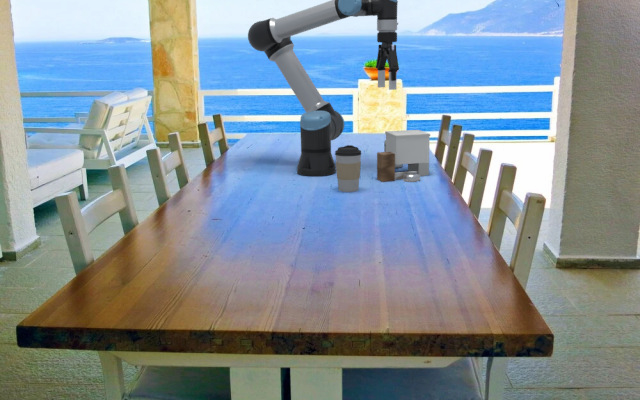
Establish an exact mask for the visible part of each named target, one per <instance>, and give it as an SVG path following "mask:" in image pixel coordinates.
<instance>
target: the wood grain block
mask: <svg viewBox="0 0 640 400" xmlns="http://www.w3.org/2000/svg"><path fill="white" fill-rule="evenodd" d="M404 173H417V171H410V172H409V171H401V172H400V171H398V172H396V168H395V154H394V153H392V152H384V151H383V152H382V151H381V152H380V151H379V152H376V180H378V181H379V182H381V183H386V182H395V181H396V180H397V181H398V180H403V177H404Z"/></svg>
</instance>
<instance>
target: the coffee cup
mask: <svg viewBox="0 0 640 400" xmlns="http://www.w3.org/2000/svg"><path fill="white" fill-rule="evenodd" d="M334 155H335V166H336V178H337V188H338V191H339V192H343V193H352V192H358V191H359V189H360V178H361V165H362V159H361V156H362V150H361V149H359V147H357V146H354V145H350V144H348V145H345V146H340V147H338V148H337V149H336V150H335V151H334Z"/></svg>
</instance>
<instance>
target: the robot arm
mask: <svg viewBox="0 0 640 400" xmlns="http://www.w3.org/2000/svg"><path fill="white" fill-rule="evenodd" d="M398 2H399V1H398V0H329V1H326V2H323V3H320V4H317V5H314V6H312V7H308V8H306V9H302V10H300V11H296V12H293V13H292V14H291V13H290V14H288V15H285V16H283V17H279V18H274V17H270V18H268V19H263V20H259V21H255V22H254V23H253V24H252V25H250V27H249V29H248V33H247V39H248V42H249V44H250V46H251V48H253V49H254V50H257V51H259V52H264V53H265V55H266V57H267V59H268V60H269V61H271V62H274V63H275V64H276V65H277V68H278V70H279V71H280V72H281V74H282V75H283V77H284V79H285V80H286V82H287V84H288V85H289V87H290V88H291V90H292V92H293V94H294V95H295V96H296V99H298V102H299V103H300V105H301V106H302V108H303V110H304V112H303V113H302V114H301V116H300V121H299V127H300V149H301V150H300V157H299V159H298V163H297V165H296V174H298V175H300V176H309V177H319V176H320V177H323V176H331V175H334V174H337V171H336V162H335V161H334V157H333V155H332V141H334V140H336V139H338V138H339V137H340V136H341V135H342V133H343V132H344V128H345V120H344V117H343V116H342V114H341V113H340V112H338V111H337V110H335V109H334V107H333V106H332V104H331V103H330V101H329V102H328V101H325V100H324V98H323V96H322V95H321V93H320V92H319V90H318V88H317V87H316V85H315V84H314V83H313V80H312V79H311V78H310V76H309V74H308V72H307V71H306V69H305V68H304V66H303V64H302V63H301V61H300V60H299V58H298V56H297V55H296V53H295V51H294V46H295V44H294V42H293V40H292V39H291V38H292V36H295V35H299V34H301V33H302V34H303V33H304V32H308V31H310V30H314V29H317V28H319V27H323V26H325V25H328V24H331V23H334V22H338V21H341V20H343V19H347V18H350V17H354V18H356V17H357V18H358V17H369V16H371V17H375V16H377V17H376V18H377V19H376V30H377V34H376V38H377V39H376V41H377V43H381V44H378V48H377V49H378V50H377V56H376V57H377V59H376V63H375V69H377V88H386V70H387V69H386V64H387V63H388V64H387V65H388V71H387V72H388V90H389V91H390V90H394V91H395V90H397V78H398V77H397V72H398V71H399V70H400V68H399V67H400V66H399V59H398V55H397V54H398V53H397V45H396V44H393V43H397V42H398V33H397V30H398V25H399V22H398Z"/></svg>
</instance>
